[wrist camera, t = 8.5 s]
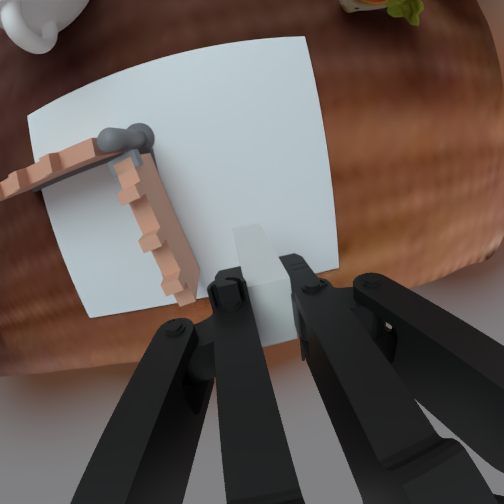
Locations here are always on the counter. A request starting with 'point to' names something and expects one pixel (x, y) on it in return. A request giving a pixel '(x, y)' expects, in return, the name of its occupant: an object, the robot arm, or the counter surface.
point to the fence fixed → (71, 159)
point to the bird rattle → (398, 5)
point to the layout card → (193, 166)
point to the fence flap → (157, 224)
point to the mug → (38, 21)
